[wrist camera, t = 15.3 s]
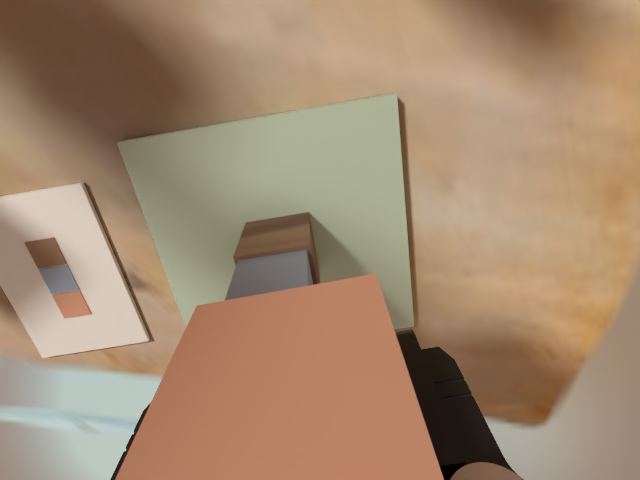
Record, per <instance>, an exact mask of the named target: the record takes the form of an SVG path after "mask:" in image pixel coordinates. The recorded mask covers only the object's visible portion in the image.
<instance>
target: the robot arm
mask: <svg viewBox="0 0 640 480" xmlns="http://www.w3.org/2000/svg"><path fill="white" fill-rule="evenodd" d="M395 333H396V336H397V339H398V342H399V345H400V348H401V351H402V354H403V357H404V360H405V363H406V367H407V370H408V373H409V376H410V379H411V382H412V385H413V388H414V391H415V394H416V397H417V400H418V403H419V406H420V409H421V412H422V415H423V418H424V421H425V424H426V427H427V430H428V433H429V436H430V439H431V442H432V445H433V448H434V451H435V454H436V457H437V460H438V463H439V466H440V469H441V472H442V475H443V478H444V480H523V479H522V478H521V477H520V476H518V475H517V474H516V473H515V472H514V471H513V470H512V469H511V467H510V466H509V465H508V463H507V462H506V460H505V458H504V457H503V455H502V453H501V451H500V449H499V447H498V445H497V443H496V441H495V439H494V437H493V435H492V433H491V432H490V429H489V427H488V425H487V423H486V421H485V419H484V417H483V415H482V413H481V411H480V409H479V407H478V405H477V403H476V401H475V399H474V397H472V395H471V391H470V389H469V387H468V385H467V383H466V381H464V377H463V375H462V373H461V371H460V369H459V367H458V365H457V364H456V362H455V360H454V359H453V358H452V357H450V356H449V355H448V354H447V353H446V352H444V351H443V350H442V349H441V348H440V347H434V348H428V349H422V350H421V348H420V346H419V343H418V341H417V338H416V336H415V333H414V331H413V330H412V329H411V330H405V331H400V332H395ZM150 404H151V403H150ZM150 404H149V405H148V406H147V408H146V409H145V410H144V411H143V413H142V415H141V417H140V419H139V421H138V423H137V425H136V428H135V430H134V434H133V435H132V436H131V438H130V440H129V442H128V444H127V446H126V451H125V452H124V453H123V455H122V457H121V459H120V461H119V463H118V465H117V467H116V470H115V471H114V473H113V476H112V478H111V480H115V479H116V476H117V474H118V472H119V470H120V468H121V466H122V464H123V462H124V459H125V457H126V455H127V453H128V451H129V449H130V447H131V444H132V442H133V440H134V438H135V436H136V434H137V432H138V430H139V427H140V425H141V423H142V421H143V419H144V417H145V415H146V412H147V410H148V408H149V406H150Z"/></svg>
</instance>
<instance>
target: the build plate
mask: <svg viewBox="0 0 640 480" xmlns="http://www.w3.org/2000/svg"><path fill="white" fill-rule="evenodd" d="M117 145H118V148H119V151H120V153H121V156H122V159H123V161H124V164H125V167H126V169H127V172H128V175H129V177H130V180H131V183H132V185H133V188H134V191H135V193H136V196H137V199H138V201H139V204H140V207H141V209H142V212H143V215H144V217H145V220H146V223H147V225H148V228H149V231H150V233H151V236H152V239H153V242H154V244H155V247H156V250H157V252H158V255H159V258H160V260H161V263H162V266H163V268H164V271H165V274H166V276H167V279H168V282H169V284H170V287H171V290H172V292H173V295H174V298H175V300H176V303H177V306H178V308H179V311H180V314H181V316H182V319H183V322H184V324H185V327H187V325H188V323H189V321H190V319H191V316H192V314H193V312H194V310H195V308H196V306H197V305H202V304H208V303H214V302H219V301H225V298H226V295H227V292H228V289H229V286H230V283H231V280H232V277H233V274H234V270H235V267H236V266H235V262H234V259H233V256H234V253H235V251H236V248H237V245H238V242H239V240H240V237H241V234H242V231H243V229H244V226H245V223H246V222H252V221H258V220H264V219H270V218H276V217H282V216H288V215H294V214H300V213H306V212H309V216H310V221H311V227H312V232H313V238H314V243H315V248H316V254H317V259H318V265H319V273H320V283H326V282H331V281H337V280H343V279H348V278H354V277H360V276H365V275H371V274H376V276H377V279H378V282H379V285H380V288H381V291H382V294H383V297H384V300H385V303H386V306H387V309H388V312H389V315H390V318H391V321H392V324H393V327H394V330H396V329H403V328H409V327H414V315H413V302H412V288H411V275H410V261H409V248H408V234H407V221H406V207H405V194H404V180H403V167H402V154H401V140H400V127H399V113H398V100H397V94H396V93H391V94H385V95H379V96H373V97H368V98H362V99H356V100H350V101H345V102H339V103H333V104H327V105H322V106H316V107H310V108H304V109H299V110H293V111H287V112H282V113H276V114H270V115H264V116H259V117H253V118H247V119H241V120H236V121H230V122H224V123H218V124H213V125H207V126H201V127H195V128H190V129H184V130H178V131H172V132H167V133H161V134H155V135H149V136H144V137H138V138H132V139H126V140H122V141H119V142H117Z"/></svg>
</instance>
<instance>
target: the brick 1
mask: <svg viewBox="0 0 640 480" xmlns="http://www.w3.org/2000/svg"><path fill="white" fill-rule="evenodd" d="M309 285H313V280H312V275H311V270H310V264H309V259H308V253H307V250H302V251H296V252H289V253H283V254H276V255H270V256H263V257H257V258H250V259H244V260H238V261H237V264H236V267H235V270H234V274H233V277H232V280H231V283H230V286H229V289H228V292H227V295H226V298H225V300H230V299H236V298H242V297H247V296H253V295H258V294H264V293H270V292H275V291H281V290H287V289H292V288H298V287H303V286H309Z"/></svg>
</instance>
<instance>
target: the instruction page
mask: <svg viewBox="0 0 640 480" xmlns="http://www.w3.org/2000/svg"><path fill="white" fill-rule="evenodd" d="M0 286H1V288H2V289H3V291H4V293H5V295H6V296H7V298H8V300H9V301H10V303H11V305H12V307H13V308H14V310H15V312H16V313H17V315H18V317H19V318H20V320H21V322H22V324H23V325H24V327H25V329H26V330H27V332H28V334H29V336H30V337H31V339H32V341H33V342H34V344H35V346H36V348H37V349H38V351H39V353H40V354H41V356H42V358H46V357H52V356H59V355H65V354H71V353H78V352H84V351H90V350H97V349H103V348H109V347H116V346H122V345H128V344H135V343H141V342H147V341H149V340H150V337H149V334H148V332H147V330H146V327H145V325H144V323H143V320H142V318H141V316H140V313H139V311H138V309H137V306H136V304H135V301H134V299H133V297H132V294H131V292H130V290H129V287H128V285H127V283H126V280H125V278H124V276H123V273H122V271H121V269H120V266H119V264H118V262H117V259H116V257H115V255H114V252H113V250H112V248H111V245H110V243H109V241H108V238H107V236H106V234H105V231H104V229H103V227H102V224H101V222H100V220H99V217H98V215H97V213H96V210H95V208H94V205H93V203H92V201H91V198H90V196H89V194H88V191H87V189H86V187H85V184H84V182H81V183H75V184H69V185H63V186H58V187H52V188H46V189H40V190H34V191H28V192H22V193H17V194H11V195H5V196H0Z"/></svg>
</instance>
